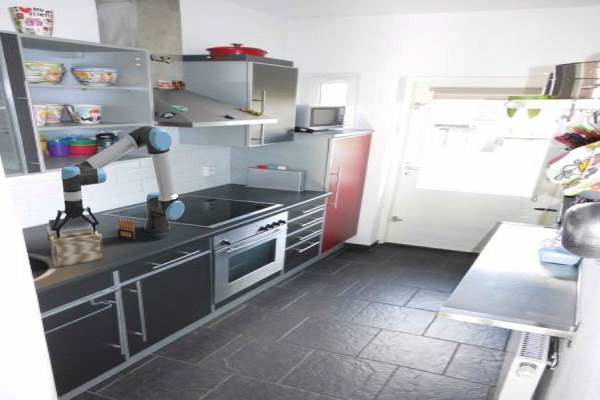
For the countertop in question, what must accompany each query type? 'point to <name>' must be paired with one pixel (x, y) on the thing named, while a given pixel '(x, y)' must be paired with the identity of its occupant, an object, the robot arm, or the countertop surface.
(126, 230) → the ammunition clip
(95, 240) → the housing
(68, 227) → the lid
